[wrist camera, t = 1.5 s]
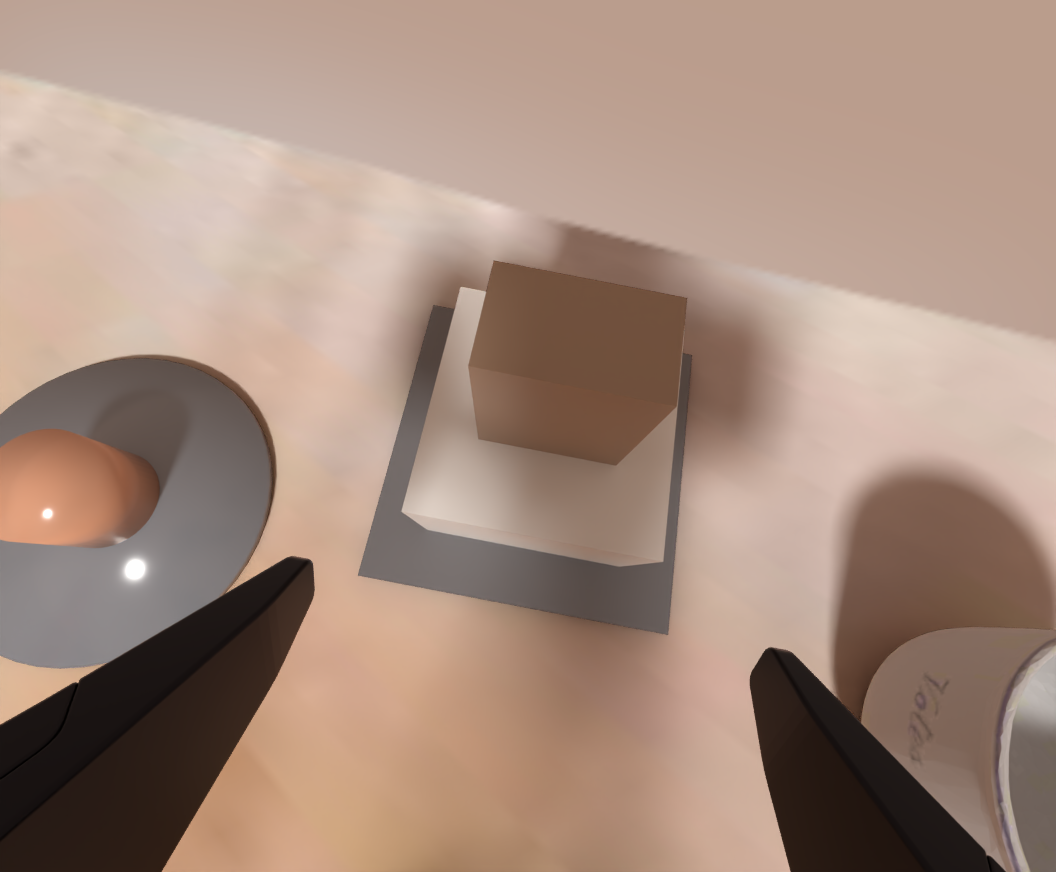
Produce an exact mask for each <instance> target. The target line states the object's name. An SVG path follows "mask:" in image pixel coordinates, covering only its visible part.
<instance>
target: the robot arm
mask: <svg viewBox="0 0 1056 872" xmlns="http://www.w3.org/2000/svg"><path fill="white" fill-rule="evenodd" d="M314 591H315V587H314V571H313V563H312V561H311V560H309V559H306V558H301V557H296V556H290V557H287V558H285V559H284V560H282V561H280V562H278V563H277V564H275V565H273V566H272V567H270V568H268V569H267V570H265V571H263V572H261V573H260V574H258V575H256V576H255V577H253V578H251V579H250V580H248V581H246V582H244V583H243V584H241V585H239V586H238V587H236V588H234V589H232V590H231V591H229V592H227V593H226V594H224V595H222V596H221V597H219V598H217V599H215V600H214V601H212V602H210V603H209V604H207V605H205V606H204V607H202V608H200V609H198V610H197V611H195V612H193V613H192V614H190V615H188V616H187V617H185V618H183V619H181V620H180V621H178V622H176V623H175V624H173V625H171V626H169V627H168V628H166V629H164V630H163V631H161V632H159V633H158V634H156V635H154V636H152V637H151V638H149V639H147V640H146V641H144V642H142V643H141V644H139V645H137V646H135V647H134V648H132V649H130V650H129V651H127V652H125V653H123V654H122V655H120V656H118V657H117V658H115V659H113V660H112V661H110V662H108V663H106V664H105V665H103V666H101V667H100V668H98V669H96V670H95V671H93V672H91V673H89V674H88V675H86V676H84V677H83V678H81V679H80V680H79V682H78V683H76V682H75V683H72V684H70V685H69V686H67V687H65V688H64V689H62V690H60V691H58V692H57V693H55V694H53V695H52V696H50V697H48V698H46V699H45V700H43V701H41V702H39V703H38V704H36V705H34V706H32V707H31V708H29V709H27V710H25V711H24V712H22V713H20V714H18V715H17V716H15V717H13V718H11V719H9V720H8V721H6V722H4V723H2V724H1V725H0V872H162V870H163V868H164V867H165V865H166V863H167V862H168V860H169V858H170V856H171V855H172V853H173V851H174V850H175V848H176V846H177V845H178V843H179V841H180V840H181V838H182V836H183V835H184V833H185V831H186V830H187V828H188V826H189V824H190V823H191V821H192V819H193V818H194V816H195V814H196V813H197V811H198V809H199V808H200V806H201V804H202V803H203V801H204V799H205V797H206V796H207V794H208V792H209V791H210V789H211V787H212V786H213V784H214V782H215V781H216V779H217V777H218V776H219V774H220V772H221V771H222V769H223V767H224V765H225V764H226V762H227V760H228V759H229V757H230V755H231V754H232V752H233V750H234V749H235V747H236V745H237V744H238V742H239V740H240V738H241V737H242V735H243V733H244V732H245V730H246V728H247V727H248V725H249V723H250V722H251V720H252V718H253V717H254V715H255V713H256V712H257V710H258V708H259V706H260V705H261V703H262V701H263V700H264V698H265V696H266V695H267V693H268V691H269V690H270V688H271V686H272V684H273V682H274V681H275V679H276V677H277V675H278V673H279V671H280V669H281V667H282V665H283V663H284V661H285V658H286V656H287V654H288V652H289V650H290V648H291V645H292V643H293V641H294V639H295V637H296V635H297V632H298V630H299V628H300V626H301V624H302V622H303V619H304V617H305V615H306V613H307V611H308V609H309V607H310V604H311V602H312V599H313V596H314ZM750 690H751V696H752V702H753V708H754V714H755V720H756V726H757V732H758V738H759V744H760V750H761V756H762V762H763V767H764V771H765V776H766V780H767V784H768V788H769V791H770V795H771V799H772V803H773V807H774V810H775V814H776V818H777V822H778V826H779V829H780V833H781V837H782V841H783V844H784V848H785V852H786V856H787V860H788V863H789V867H790V871H791V872H1006V871H1005V870H1004V869H1003V868H1002V867H1001V866H1000V865H999V864H998V863H997V862H996V861H995V860H994V859H993V858H992V857H991V856H989V855H987V854H986V851H985V850H984V849H983V847H982V846H981V845H980V844H979V843H978V842H977V841H976V840H975V839H974V838H973V837H972V836H971V835H970V834H969V833H968V832H967V831H966V830H965V829H964V828H963V827H962V826H961V825H960V824H959V823H958V822H957V821H956V820H955V819H954V818H953V817H952V816H951V815H950V814H949V813H948V812H947V811H946V810H945V809H944V808H943V806H942V805H941V804H940V803H939V802H938V801H937V800H936V799H935V798H934V797H933V796H932V795H931V794H930V793H929V792H928V791H927V790H926V789H925V788H924V787H923V786H922V785H921V784H920V783H919V782H918V781H917V780H916V779H915V778H914V777H913V776H912V775H911V774H910V773H909V772H908V771H907V770H906V769H905V768H904V766H903V765H902V764H901V763H900V762H899V761H898V760H897V759H896V758H895V757H894V756H893V755H892V754H891V753H890V752H889V751H888V750H887V749H886V748H885V747H884V746H883V745H882V744H881V743H880V742H879V741H878V740H877V739H876V738H875V737H874V736H873V735H872V734H871V733H870V732H869V731H868V730H867V729H866V728H865V727H864V725H863V724H862V723H861V722H860V721H859V720H858V719H857V718H856V717H855V716H854V715H853V714H852V713H851V712H850V711H849V710H848V709H847V708H846V707H845V706H844V705H843V704H842V703H841V702H840V701H839V700H838V699H837V698H836V697H835V696H834V695H833V694H832V693H831V692H830V691H829V690H828V689H827V688H826V687H825V685H824V684H823V683H822V682H821V681H820V680H819V679H818V678H817V677H816V676H815V675H814V674H813V673H812V672H811V671H810V670H809V669H808V668H807V667H806V666H805V665H804V664H803V663H802V662H801V661H800V660H799V659H798V658H797V657H796V656H795V655H794V654H793V653H792V652H790V651H788V650H783V649H778V648H773V647H769V648H768V649H766V650H765V651H764V653H763V654H762V656H761V657H760V659H759V661H758V662H757V664H756V666H755V667H754V669H753V670H752V672H751V675H750Z"/></svg>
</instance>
